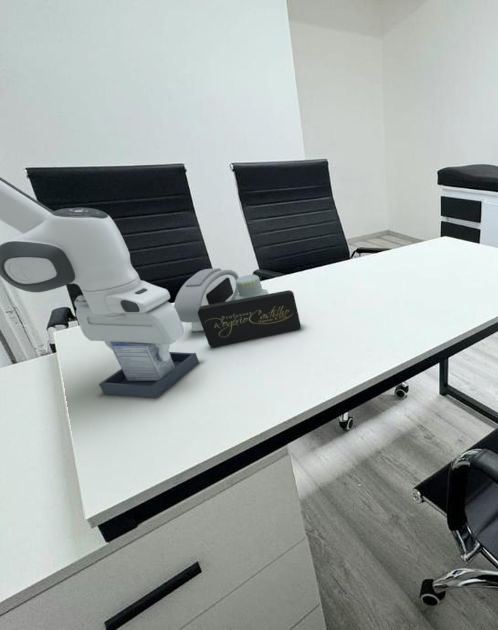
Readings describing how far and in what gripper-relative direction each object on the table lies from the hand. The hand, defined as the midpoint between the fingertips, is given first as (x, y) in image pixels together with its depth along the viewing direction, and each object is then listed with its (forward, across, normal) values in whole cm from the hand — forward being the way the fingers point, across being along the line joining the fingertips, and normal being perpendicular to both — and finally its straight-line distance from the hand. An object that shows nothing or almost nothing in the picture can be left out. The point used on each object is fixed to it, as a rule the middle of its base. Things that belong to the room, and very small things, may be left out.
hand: (144, 358), depth 78 cm
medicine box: (+4, 0, 0) cm, 4 cm away
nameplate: (+5, +13, +18) cm, 23 cm away
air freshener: (+5, +5, +31) cm, 32 cm away
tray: (+5, 0, 0) cm, 5 cm away
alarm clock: (+5, -5, +28) cm, 29 cm away
